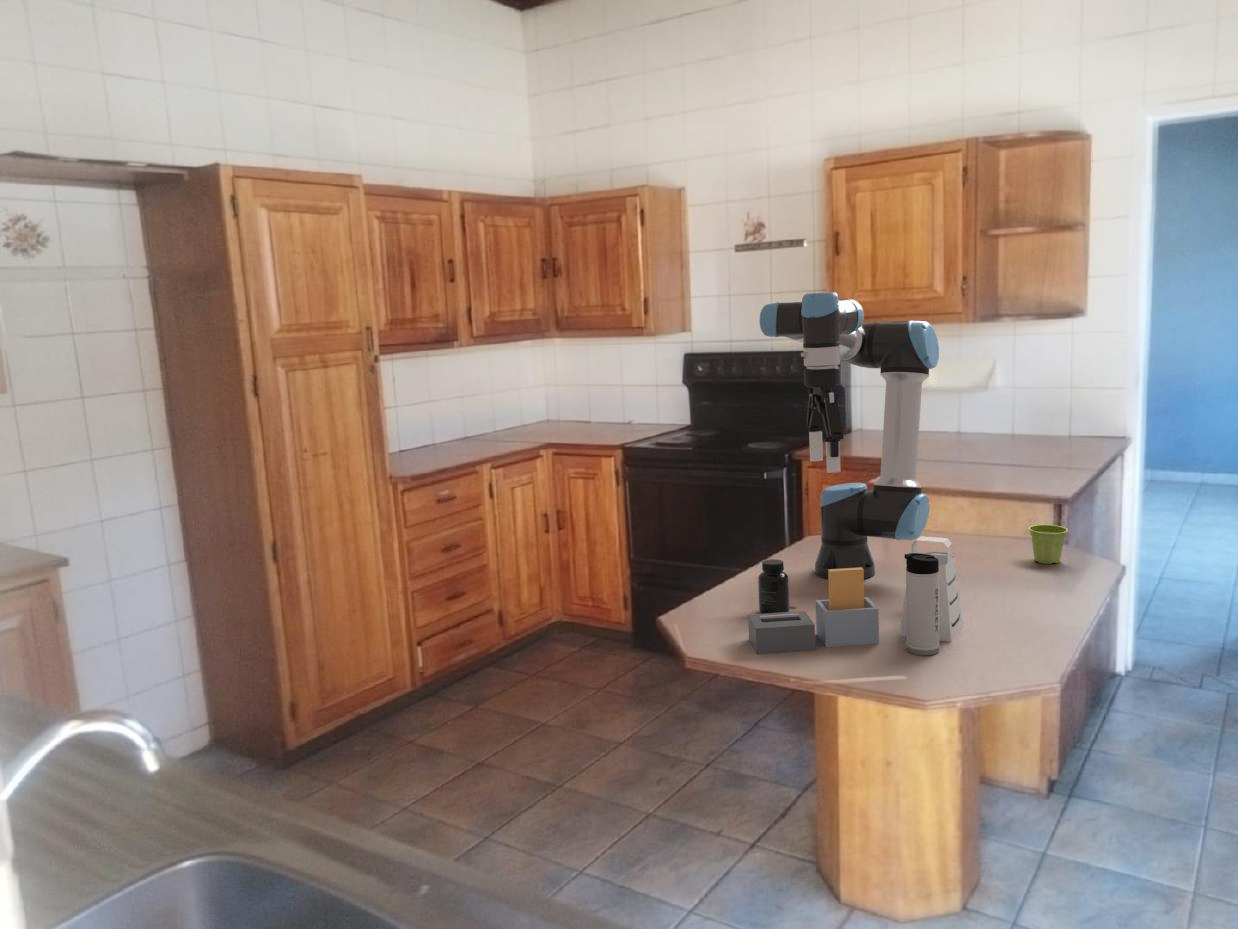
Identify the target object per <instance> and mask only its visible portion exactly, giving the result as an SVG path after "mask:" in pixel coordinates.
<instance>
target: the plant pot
mask: <svg viewBox="0 0 1238 929" xmlns="http://www.w3.org/2000/svg"><path fill="white" fill-rule="evenodd" d="M1028 531H1029V532H1030V536H1031V541H1032V550H1033V559H1034V561H1035V562H1038V563H1040V564H1045V565H1046V564H1048V565H1049V564H1050V565H1051V564H1054V563H1055V564H1058V563H1060V562H1061V557H1062V554H1063V553H1062V551H1063V546H1064V541H1065V538H1066V536H1067V533H1068V532H1069V530H1068V528H1067V527H1065V526H1060V525H1056V524H1035V525H1034V524H1033V525H1030V526H1029V527H1028Z"/></svg>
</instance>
